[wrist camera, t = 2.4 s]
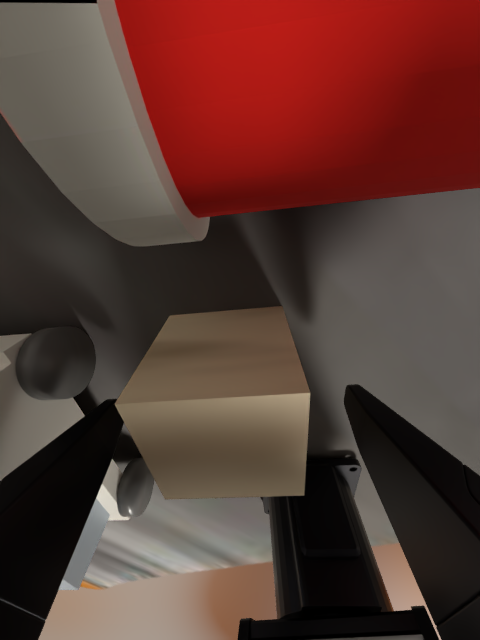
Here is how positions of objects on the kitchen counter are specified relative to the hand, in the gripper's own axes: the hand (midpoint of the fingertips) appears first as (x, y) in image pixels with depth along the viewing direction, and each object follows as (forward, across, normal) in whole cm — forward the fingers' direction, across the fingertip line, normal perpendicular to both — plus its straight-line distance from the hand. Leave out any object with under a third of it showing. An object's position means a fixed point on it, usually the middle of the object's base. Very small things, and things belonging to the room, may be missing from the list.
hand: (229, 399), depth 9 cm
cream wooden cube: (+3, 0, 0) cm, 3 cm away
